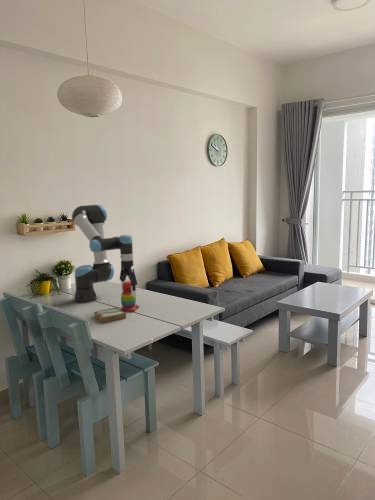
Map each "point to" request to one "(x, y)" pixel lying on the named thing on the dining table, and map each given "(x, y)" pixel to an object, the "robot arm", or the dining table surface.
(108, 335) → the dining table surface
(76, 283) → the robot arm
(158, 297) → the dining table surface
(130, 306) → the stacking bear
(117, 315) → the picture frame
